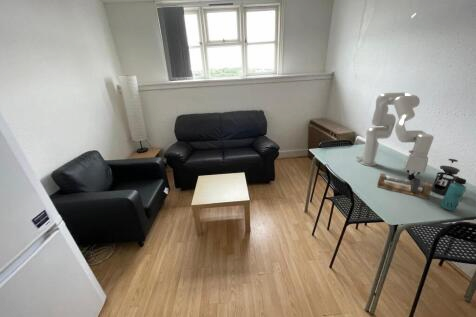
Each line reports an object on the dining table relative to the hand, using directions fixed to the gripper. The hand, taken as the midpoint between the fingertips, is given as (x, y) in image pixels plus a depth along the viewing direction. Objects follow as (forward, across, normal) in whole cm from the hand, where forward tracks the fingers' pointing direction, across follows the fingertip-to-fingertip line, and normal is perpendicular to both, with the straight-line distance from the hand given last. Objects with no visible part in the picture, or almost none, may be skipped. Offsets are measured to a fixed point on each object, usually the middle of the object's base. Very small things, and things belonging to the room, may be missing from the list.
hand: (410, 179), depth 133 cm
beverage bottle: (+9, +18, -12) cm, 23 cm away
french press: (+9, +18, +10) cm, 23 cm away
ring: (+6, +3, 0) cm, 7 cm away
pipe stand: (+8, -3, 0) cm, 9 cm away
